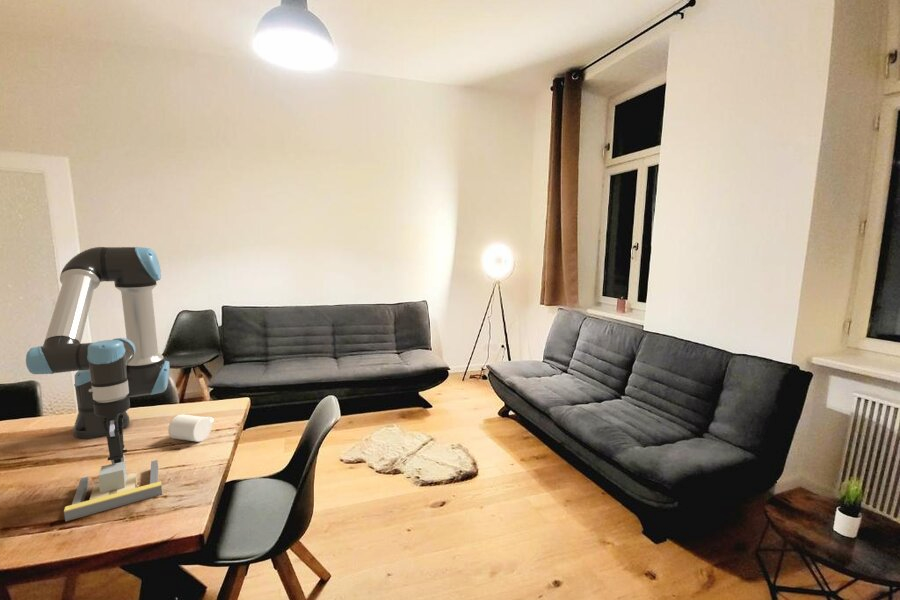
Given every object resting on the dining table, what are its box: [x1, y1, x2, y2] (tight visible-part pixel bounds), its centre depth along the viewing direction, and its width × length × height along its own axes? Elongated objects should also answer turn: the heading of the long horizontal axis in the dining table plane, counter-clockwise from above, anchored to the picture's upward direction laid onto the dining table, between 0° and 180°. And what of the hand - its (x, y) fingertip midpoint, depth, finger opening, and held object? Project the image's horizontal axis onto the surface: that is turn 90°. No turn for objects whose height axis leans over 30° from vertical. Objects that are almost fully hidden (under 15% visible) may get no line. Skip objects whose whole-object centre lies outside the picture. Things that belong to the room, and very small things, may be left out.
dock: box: [63, 459, 163, 522], centre depth 108 cm, size 16×19×3 cm
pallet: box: [89, 471, 138, 500], centre depth 107 cm, size 9×9×3 cm
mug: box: [167, 413, 215, 443], centre depth 139 cm, size 12×10×8 cm
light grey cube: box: [97, 461, 128, 493], centre depth 107 cm, size 5×5×5 cm
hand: (120, 478), depth 112 cm, fingers closed
